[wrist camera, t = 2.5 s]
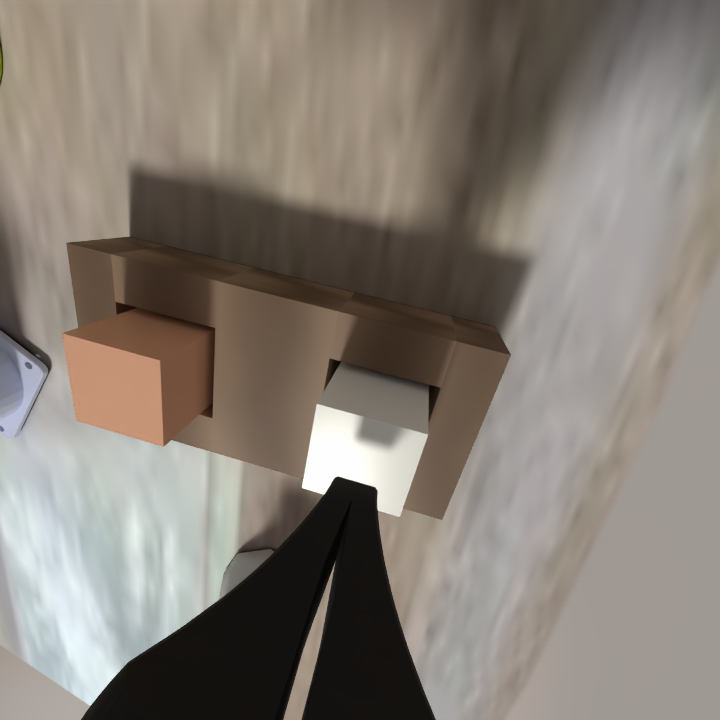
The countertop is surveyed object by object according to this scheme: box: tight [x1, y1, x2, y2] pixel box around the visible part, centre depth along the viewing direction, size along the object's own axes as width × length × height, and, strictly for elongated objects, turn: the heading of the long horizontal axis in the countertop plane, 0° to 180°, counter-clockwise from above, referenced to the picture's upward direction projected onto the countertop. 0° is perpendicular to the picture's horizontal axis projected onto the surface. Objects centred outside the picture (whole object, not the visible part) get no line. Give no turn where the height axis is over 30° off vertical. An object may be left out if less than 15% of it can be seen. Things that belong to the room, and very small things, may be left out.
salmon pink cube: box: [62, 308, 215, 447], centre depth 16 cm, size 4×4×4 cm
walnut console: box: [67, 237, 511, 520], centre depth 18 cm, size 19×9×4 cm, turn 78°
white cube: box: [302, 361, 429, 517], centre depth 15 cm, size 4×4×4 cm
